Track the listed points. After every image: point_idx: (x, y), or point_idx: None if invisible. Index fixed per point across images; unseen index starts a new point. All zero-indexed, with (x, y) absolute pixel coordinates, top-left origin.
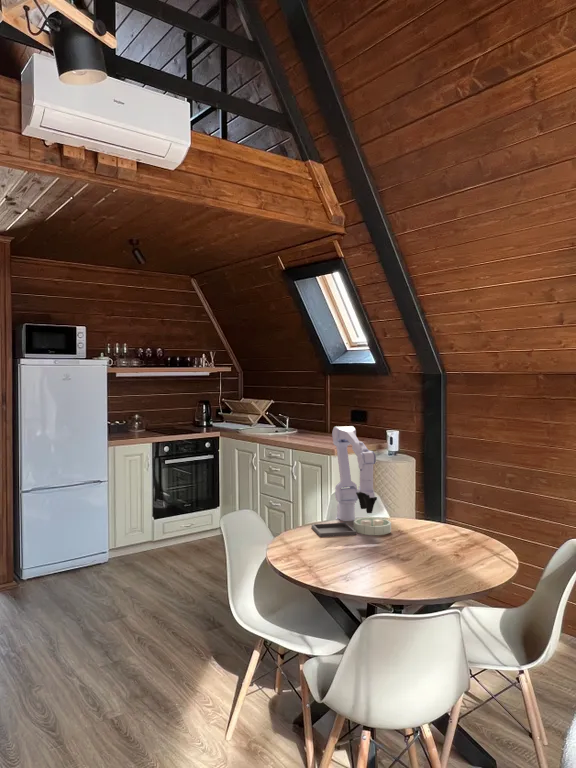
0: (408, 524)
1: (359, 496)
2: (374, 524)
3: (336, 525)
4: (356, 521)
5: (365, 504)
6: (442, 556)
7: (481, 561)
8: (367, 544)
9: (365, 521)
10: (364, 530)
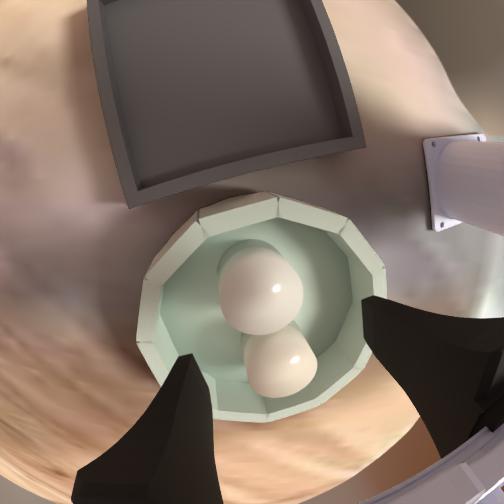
0: (375, 419)
1: (455, 358)
2: (257, 340)
3: (332, 83)
4: (296, 221)
5: (385, 360)
6: (32, 449)
7: (45, 484)
8: (36, 262)
9: (250, 294)
10: (149, 267)
